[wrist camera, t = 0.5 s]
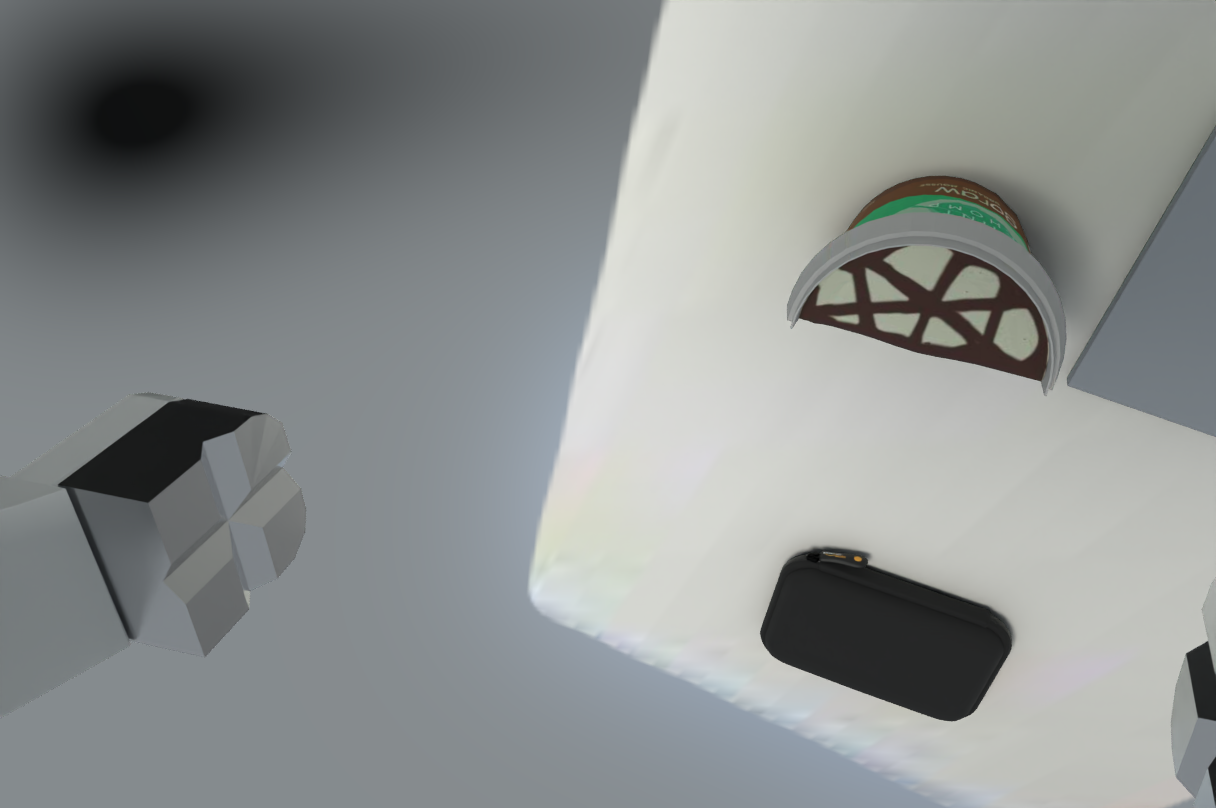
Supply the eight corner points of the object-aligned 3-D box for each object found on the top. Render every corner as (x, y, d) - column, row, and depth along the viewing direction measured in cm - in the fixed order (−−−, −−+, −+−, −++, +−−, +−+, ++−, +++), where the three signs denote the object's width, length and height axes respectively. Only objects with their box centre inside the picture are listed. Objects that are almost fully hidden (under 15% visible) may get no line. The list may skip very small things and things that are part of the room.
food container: (1101, 184, 47) (1117, 272, 39) (1053, 297, 50) (1059, 399, 42) (843, 127, 49) (809, 199, 41) (815, 239, 53) (778, 325, 45)
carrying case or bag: (1029, 599, 61) (797, 521, 64) (1030, 634, 59) (788, 551, 61) (967, 706, 67) (759, 630, 70) (966, 741, 65) (750, 662, 68)
